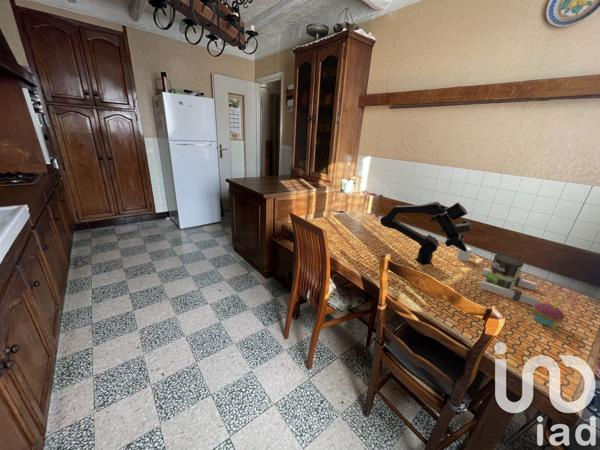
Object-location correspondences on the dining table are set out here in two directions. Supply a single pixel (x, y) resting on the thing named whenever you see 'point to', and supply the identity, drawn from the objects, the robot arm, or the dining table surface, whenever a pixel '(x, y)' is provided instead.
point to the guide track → (509, 293)
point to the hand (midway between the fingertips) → (466, 251)
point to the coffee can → (504, 271)
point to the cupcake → (548, 313)
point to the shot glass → (464, 254)
